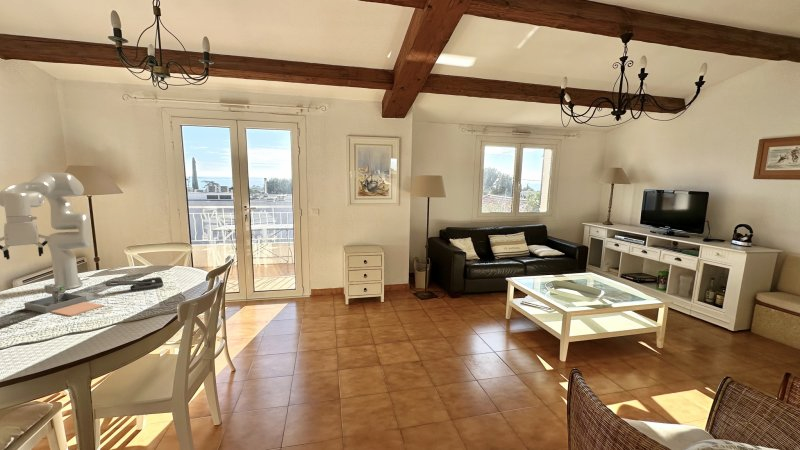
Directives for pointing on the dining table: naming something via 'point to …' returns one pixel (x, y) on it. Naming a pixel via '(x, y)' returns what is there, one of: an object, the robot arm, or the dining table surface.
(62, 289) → the mechanical component
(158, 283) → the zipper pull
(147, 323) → the dining table surface
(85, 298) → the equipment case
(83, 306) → the rubber mat
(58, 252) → the robot arm
